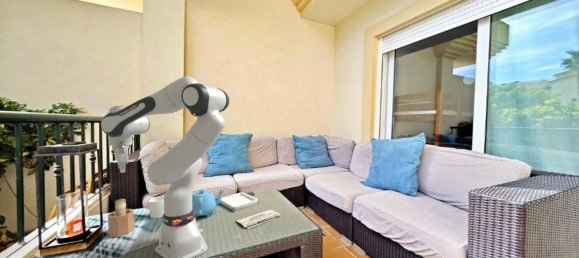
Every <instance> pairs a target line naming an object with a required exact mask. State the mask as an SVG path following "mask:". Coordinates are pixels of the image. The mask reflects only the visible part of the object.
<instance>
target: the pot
mask: <svg viewBox="0 0 579 258" xmlns="http://www.w3.org/2000/svg"><path fill="white" fill-rule="evenodd" d="M134 215H135V212H134V210H133V209H132V208H126V215H122V216H118V217H116V214H115V210H114V211H112V212H111V213H109V214H107V224H108V225H107V227H108V229H107V230H108V236H109V237H110V238H120V237H122V236H126V235H129V234H130V233H132V232H134V231H135V221H134V220H135V217H134Z"/></svg>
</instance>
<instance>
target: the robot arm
mask: <svg viewBox="0 0 579 258" xmlns="http://www.w3.org/2000/svg"><path fill="white" fill-rule="evenodd" d="M229 105H230V97H229V94H228V93H227V92H226V91H225V90H223V89H222V88H218V87H215V86H212V85H210V84H204V83H203V84H202V83H199V81H197V79H195V77H194V78H193V77H192V76H188V75H187V76H183V77H181V78H177V79H175V80H174V81H172V82H171V83H168V84H167V85H165V86H164V87H163V88H161V89H159V90H157V91H156V92H154V93H152V94H150V95H147V96H145V97H143V98H140V99H138V100H136V101H135V102H133V103H131V104H129V105H115V106H111V107H110V108H109V109H108V113H106V114H105V115H104V116H103V117H102V119H101V121H100V129H101V130H102V132H104V134H105V135H107V136H108V145H109V147H112V150H113V155H114V157H115V160H116V161H117V167H118V169H119V172H120V173H121V174H122V173H125V172H126V166H127V165H126V164H128V163H129V148H130V146H131V145H133V136H135V135H136V136H137V135H142V134H145V133H147V132H148V131H149V129H150V125H151V123H150V122H151V121H150V119H149V118H148V116H152V115H154V116H155V115H165V114H166V115H168V114H174V113H176V112H179V111H181V110H183V109H185V108H186V109H187V110H188V112H190V114H191V116H193V117H196V120H195V122H194V123H193V124H192V126H191V127H190V128H189V129H188V131H187V132H186V133H185V135H184V136H182V138H181V140H180V141H178V143H176V144H175V145H174V146H172V148H170V149H169V150H168V151H166V152H165V153H164V154H163V155H162V156H160V157H159V158H158V159H156V160H154V161H152V162H150V164H149V165H148V166H147V167H148V168H147V171H146V172H147V173H146V174H147V178H148V179H149V181H150V182H151V183H152V184H154V185H155V186H164V185H169V187H168V188H167V190H166V191H165V193H164V195H163V197H164V213H163V216H162V223H163V224H162V226H161V227H160V229H159V232H158V233H159V236H158V237H159V238H158V245H157V246H156V247H155V248H154V252H155V253H156V254H158V255H159V256H161V257H162V258H197V257H199V256H201V255H203V254H204V253H206V252H207V251H208V248H209V247H208V246H207V242H206V241H205V239H204V237H203V234H204V229H203V228H199V227H200V223H199V222H197V220H196V218H195V217H194V210H193V208H192V195H193V191H194V186H195V183H196V178H197V175H198V173H199V172H201V169H202V168H203V160H202V158H204V156H205V155H206V153H208V151H209V150H210V149H211V148H212V146H213V145H214V144H215V143H216V142H217V140H218V138H219V137H220V136H221V134H222V132H223V130H224V128H225V125H226V120H225V118H224V116H222V115H221V114H220V113H221V112H224V111H226V109H227V108H228V107H229Z"/></svg>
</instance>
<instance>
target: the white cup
mask: <svg viewBox="0 0 579 258" xmlns="http://www.w3.org/2000/svg"><path fill="white" fill-rule="evenodd" d="M148 209H149V216H150V217H149V218H151V219H158V218H163V213H164V196H157V197H153V198H150V199H149V200H148Z"/></svg>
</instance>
